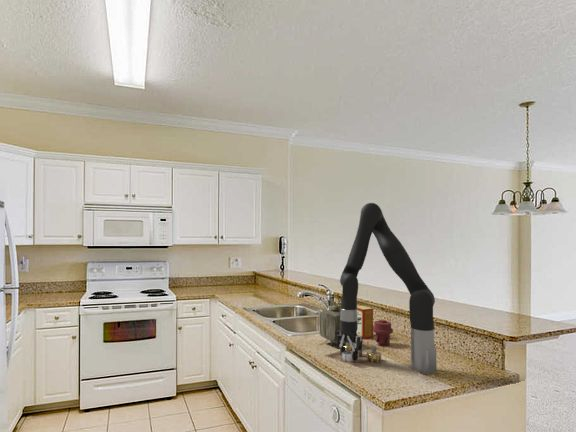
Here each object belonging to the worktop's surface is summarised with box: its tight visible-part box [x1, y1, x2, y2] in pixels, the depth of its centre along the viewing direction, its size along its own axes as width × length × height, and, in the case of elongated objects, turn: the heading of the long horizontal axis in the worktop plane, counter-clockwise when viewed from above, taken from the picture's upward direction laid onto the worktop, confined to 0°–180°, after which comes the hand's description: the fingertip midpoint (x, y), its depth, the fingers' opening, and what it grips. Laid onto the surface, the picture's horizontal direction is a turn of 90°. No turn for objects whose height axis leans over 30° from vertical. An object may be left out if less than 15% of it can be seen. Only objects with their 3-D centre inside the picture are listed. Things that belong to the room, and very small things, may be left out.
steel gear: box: [342, 351, 355, 362], centre depth 171 cm, size 6×6×3 cm
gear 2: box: [366, 350, 382, 364], centre depth 170 cm, size 6×6×3 cm
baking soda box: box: [357, 305, 374, 340], centre depth 215 cm, size 10×6×16 cm
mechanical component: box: [373, 319, 394, 347], centre depth 198 cm, size 12×10×10 cm
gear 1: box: [344, 345, 355, 351], centre depth 182 cm, size 6×6×5 cm
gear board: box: [324, 342, 387, 369], centre depth 174 cm, size 22×16×7 cm
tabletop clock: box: [319, 295, 342, 347], centre depth 195 cm, size 14×9×25 cm, turn 33°
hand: (348, 357), depth 171 cm, fingers closed on steel gear, 6 cm apart
